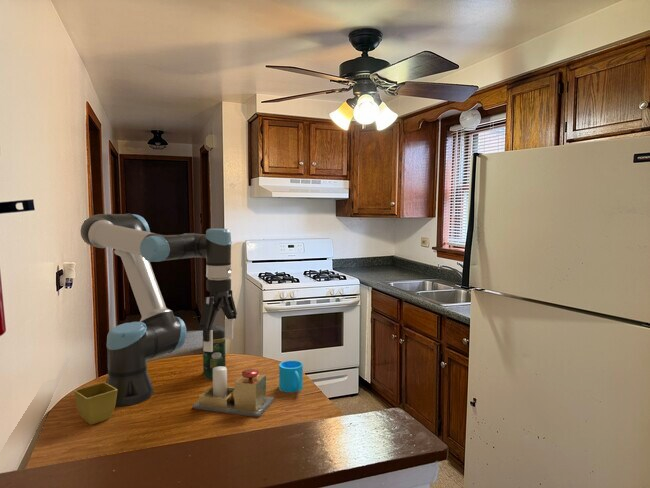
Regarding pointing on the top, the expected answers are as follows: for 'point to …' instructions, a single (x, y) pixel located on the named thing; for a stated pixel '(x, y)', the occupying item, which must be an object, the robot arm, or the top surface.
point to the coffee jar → (215, 352)
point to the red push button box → (239, 396)
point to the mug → (290, 376)
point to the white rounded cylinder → (220, 382)
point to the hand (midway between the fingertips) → (219, 344)
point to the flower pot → (96, 402)
